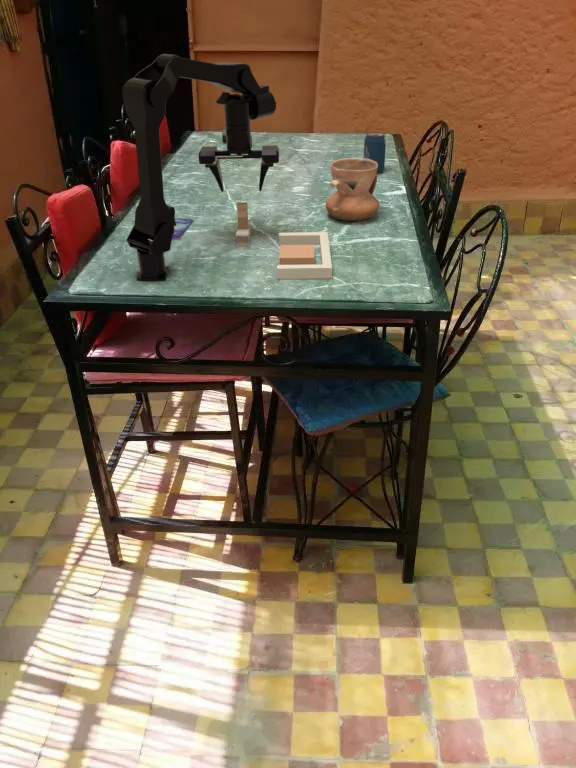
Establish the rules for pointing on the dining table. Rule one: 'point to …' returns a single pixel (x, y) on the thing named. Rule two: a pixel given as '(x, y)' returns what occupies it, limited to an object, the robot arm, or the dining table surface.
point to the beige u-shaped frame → (307, 270)
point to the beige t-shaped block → (243, 226)
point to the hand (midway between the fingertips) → (241, 191)
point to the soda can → (375, 149)
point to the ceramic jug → (353, 189)
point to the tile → (296, 255)
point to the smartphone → (181, 227)
